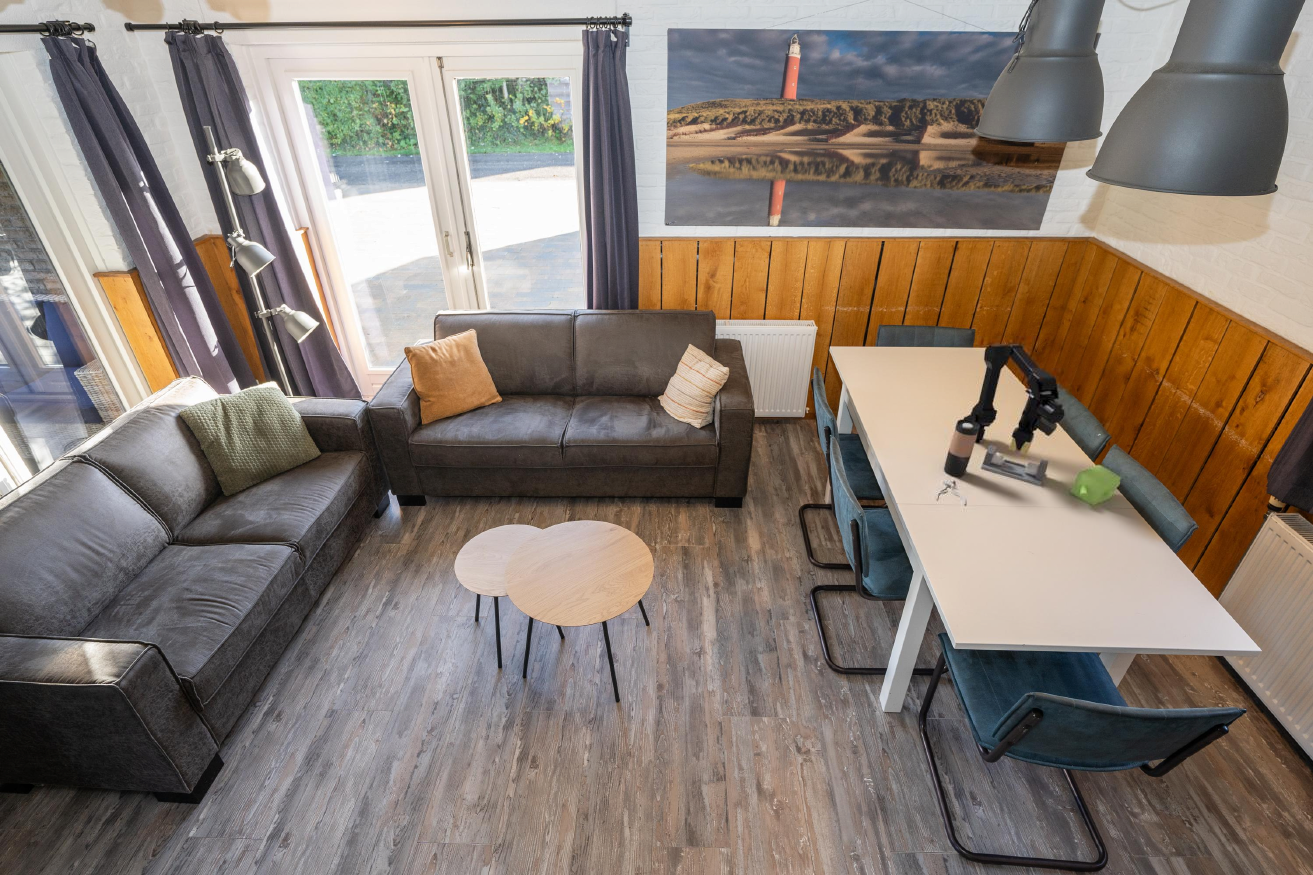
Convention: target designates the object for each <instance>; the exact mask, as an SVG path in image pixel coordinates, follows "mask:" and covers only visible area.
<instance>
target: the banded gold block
mask: <svg viewBox="0 0 1313 875" xmlns="http://www.w3.org/2000/svg"><path fill="white" fill-rule="evenodd" d="M1034 438H1035V435H1034V436H1033V439H1032V441H1031V442H1030V443H1028V442H1025V444H1024V445H1023V446H1022V448H1021V449H1020V450H1017V449H1016V443H1015V438H1013V437H1012V439H1011V442H1010V445H1009V447H1008V450H1010V451H1013V452H1016V453H1019V454H1023V455H1028V453H1029V451H1030V449H1031V446H1032V443H1033V441H1034Z"/></svg>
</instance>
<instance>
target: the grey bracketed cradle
mask: <svg viewBox="0 0 1313 875" xmlns="http://www.w3.org/2000/svg"><path fill="white" fill-rule="evenodd" d="M996 449H997V446H995V445H992V444H989V445H988V448H987V449H986V453H985V454H984V458H983V462H982V465H981V467H980V469H982V470H984V471H988V472H991V473H995V474H998V475H1001V476H1004V477H1009V478H1012V479H1015V480H1018V481H1023V482H1025V483H1029V484H1032V485H1036V486H1039V487H1041V486H1042V483H1043V479H1044V477H1045V475H1046V472H1047V470H1048V467H1049V466H1048V465H1049V460H1045V459H1040V461H1039V463H1036V462H1032V461H1028V462H1027V464H1025V463H1022V462H1021V463H1020V462H1017V461H1014V460H1010V459H1005V456H1006V454H1003V453H1000V452H997V451H996Z"/></svg>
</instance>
